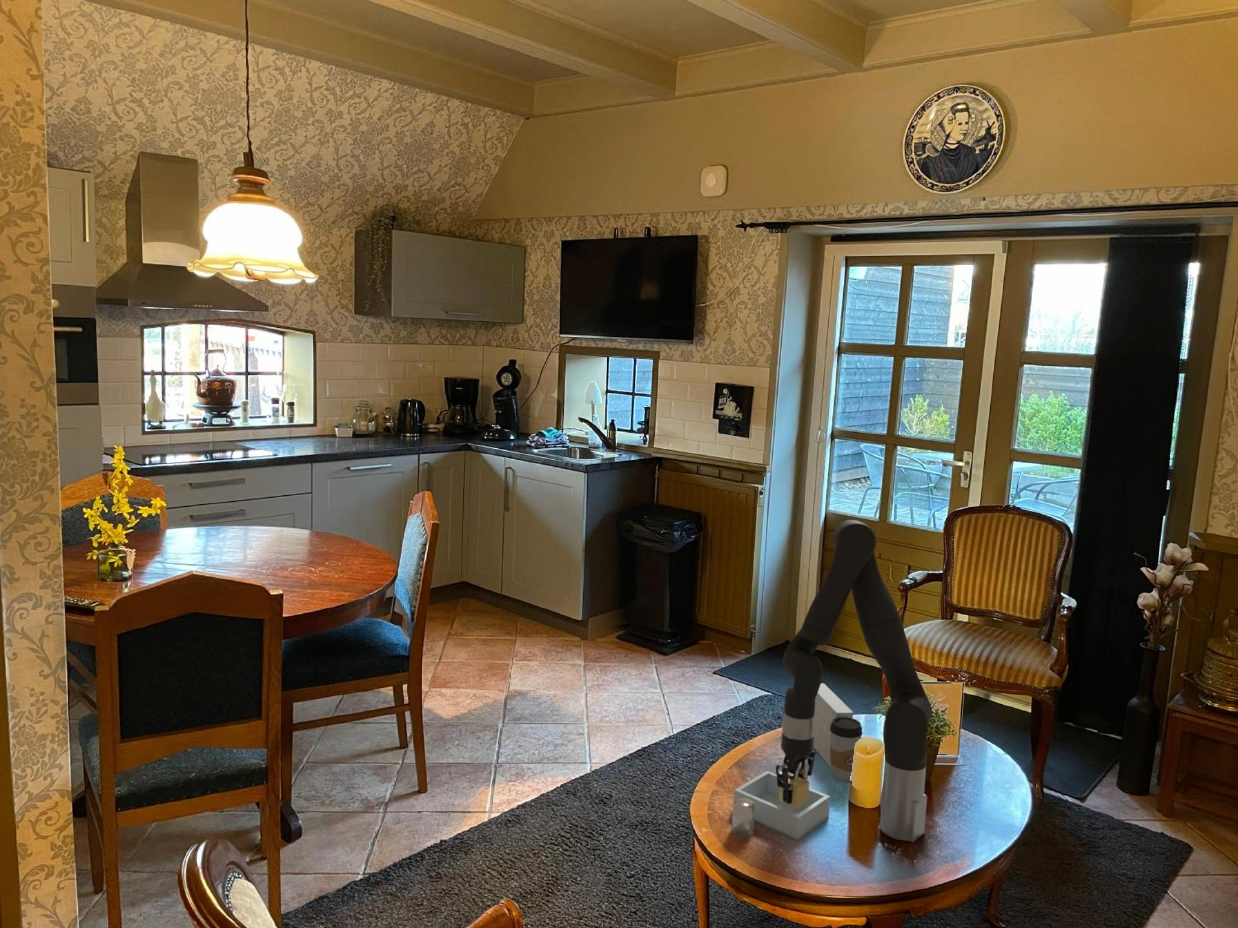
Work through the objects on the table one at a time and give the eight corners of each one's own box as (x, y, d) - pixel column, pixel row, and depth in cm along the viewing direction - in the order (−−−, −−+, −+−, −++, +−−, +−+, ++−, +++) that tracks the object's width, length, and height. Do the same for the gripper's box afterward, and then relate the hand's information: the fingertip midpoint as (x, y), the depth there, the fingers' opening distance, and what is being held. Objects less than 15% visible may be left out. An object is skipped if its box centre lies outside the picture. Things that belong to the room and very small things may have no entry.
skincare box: (850, 768, 249) (854, 712, 247) (831, 769, 248) (834, 713, 246) (820, 734, 270) (824, 681, 267) (803, 734, 269) (806, 682, 266)
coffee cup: (835, 785, 239) (839, 730, 237) (821, 770, 247) (824, 717, 245) (865, 782, 241) (868, 728, 239) (849, 767, 249) (853, 714, 247)
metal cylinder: (757, 831, 217) (759, 803, 216) (745, 839, 213) (746, 811, 212) (740, 823, 220) (741, 795, 219) (727, 831, 216) (728, 803, 215)
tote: (828, 817, 224) (830, 796, 223) (797, 839, 214) (798, 817, 213) (766, 790, 236) (767, 770, 235) (733, 810, 226) (734, 789, 225)
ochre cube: (790, 793, 226) (791, 773, 225) (808, 800, 222) (809, 781, 221) (778, 800, 222) (779, 780, 221) (796, 808, 219) (797, 788, 218)
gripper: (801, 717, 227) (796, 782, 230) (767, 735, 217) (763, 802, 219) (828, 727, 222) (823, 793, 225) (794, 745, 212) (790, 815, 214)
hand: (793, 797), depth 222 cm, fingers closed on ochre cube, 5 cm apart
